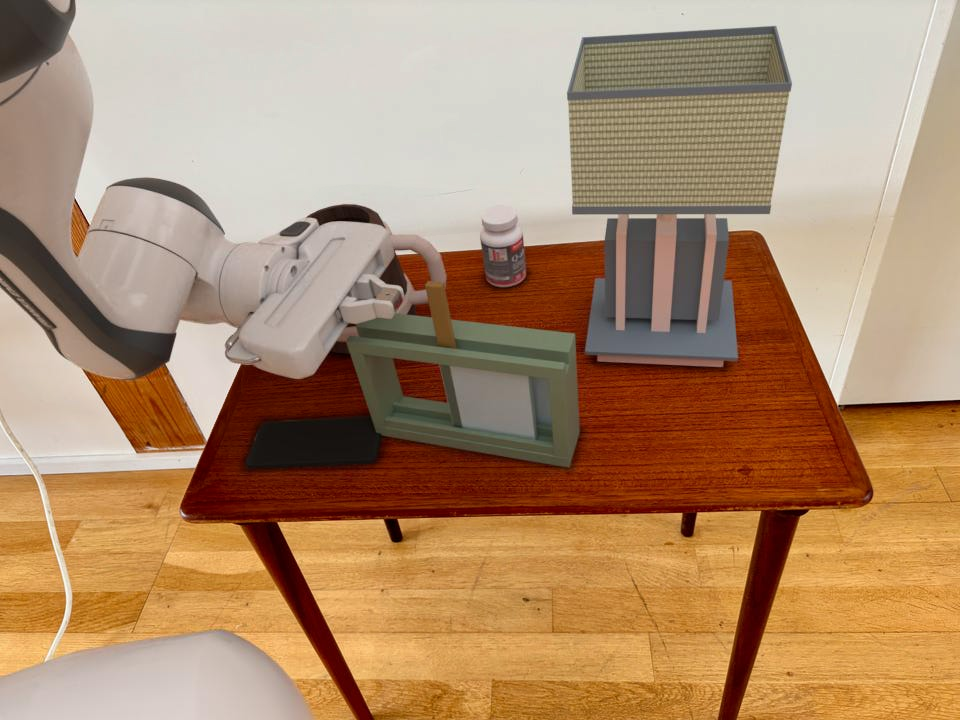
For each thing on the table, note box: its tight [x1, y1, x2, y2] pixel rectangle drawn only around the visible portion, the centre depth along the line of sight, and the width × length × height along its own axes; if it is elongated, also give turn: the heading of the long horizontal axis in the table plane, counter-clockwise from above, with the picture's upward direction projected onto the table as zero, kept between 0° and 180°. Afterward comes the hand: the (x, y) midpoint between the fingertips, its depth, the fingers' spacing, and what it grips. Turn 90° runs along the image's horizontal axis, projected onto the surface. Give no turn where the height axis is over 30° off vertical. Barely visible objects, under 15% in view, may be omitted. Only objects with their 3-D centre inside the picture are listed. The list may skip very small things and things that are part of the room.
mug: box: [305, 203, 448, 355], centre depth 90 cm, size 20×15×15 cm
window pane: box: [424, 280, 538, 440], centre depth 69 cm, size 1×9×19 cm, turn 72°
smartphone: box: [245, 415, 383, 470], centre depth 80 cm, size 7×1×15 cm
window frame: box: [346, 313, 581, 469], centre depth 73 cm, size 5×22×14 cm, turn 72°
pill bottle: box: [479, 204, 527, 288], centre depth 95 cm, size 6×6×10 cm
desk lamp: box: [566, 25, 793, 368], centre depth 76 cm, size 18×14×33 cm
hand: (398, 302), depth 67 cm, fingers closed
